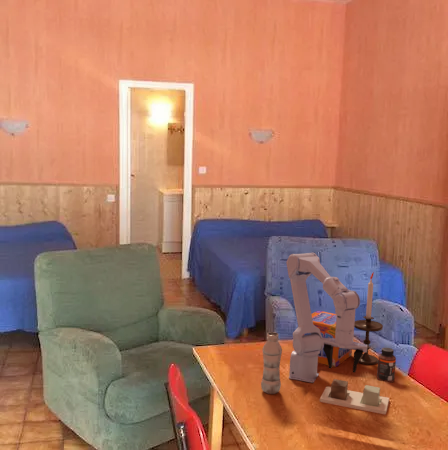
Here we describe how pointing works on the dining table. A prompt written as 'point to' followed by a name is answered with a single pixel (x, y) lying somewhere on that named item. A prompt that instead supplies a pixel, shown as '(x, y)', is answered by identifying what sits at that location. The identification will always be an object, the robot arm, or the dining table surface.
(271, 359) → the plastic bottle
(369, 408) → the base board
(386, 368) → the supplement bottle
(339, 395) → the walnut block
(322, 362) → the game box
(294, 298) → the robot arm
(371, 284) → the candlestick
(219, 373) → the dining table surface
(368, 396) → the sage block
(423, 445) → the dining table surface
